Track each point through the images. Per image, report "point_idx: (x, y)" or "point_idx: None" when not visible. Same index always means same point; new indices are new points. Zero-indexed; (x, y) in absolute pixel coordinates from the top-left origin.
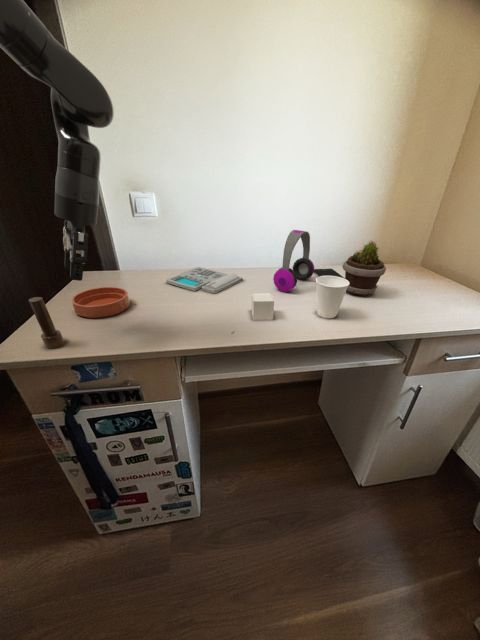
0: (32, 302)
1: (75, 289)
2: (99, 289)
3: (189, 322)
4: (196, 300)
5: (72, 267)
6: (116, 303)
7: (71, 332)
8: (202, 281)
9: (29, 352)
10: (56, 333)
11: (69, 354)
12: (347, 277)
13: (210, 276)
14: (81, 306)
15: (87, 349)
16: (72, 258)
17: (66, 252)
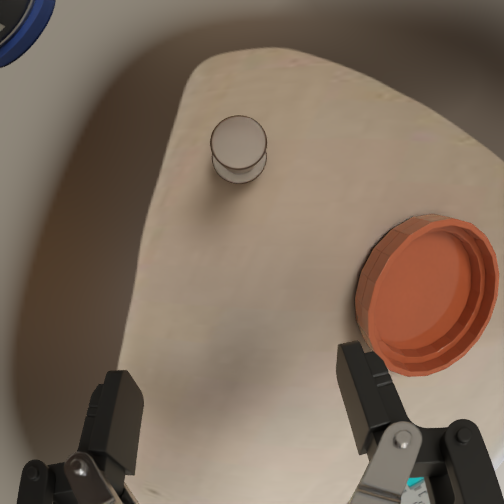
0: (212, 132)
1: None
2: (491, 296)
3: (225, 459)
4: (335, 479)
5: (97, 427)
6: (371, 347)
7: (300, 199)
8: (410, 490)
9: (220, 100)
10: (233, 173)
11: (163, 199)
12: None
13: (423, 498)
14: (395, 249)
15: (172, 243)
16: (30, 472)
17: (368, 431)
